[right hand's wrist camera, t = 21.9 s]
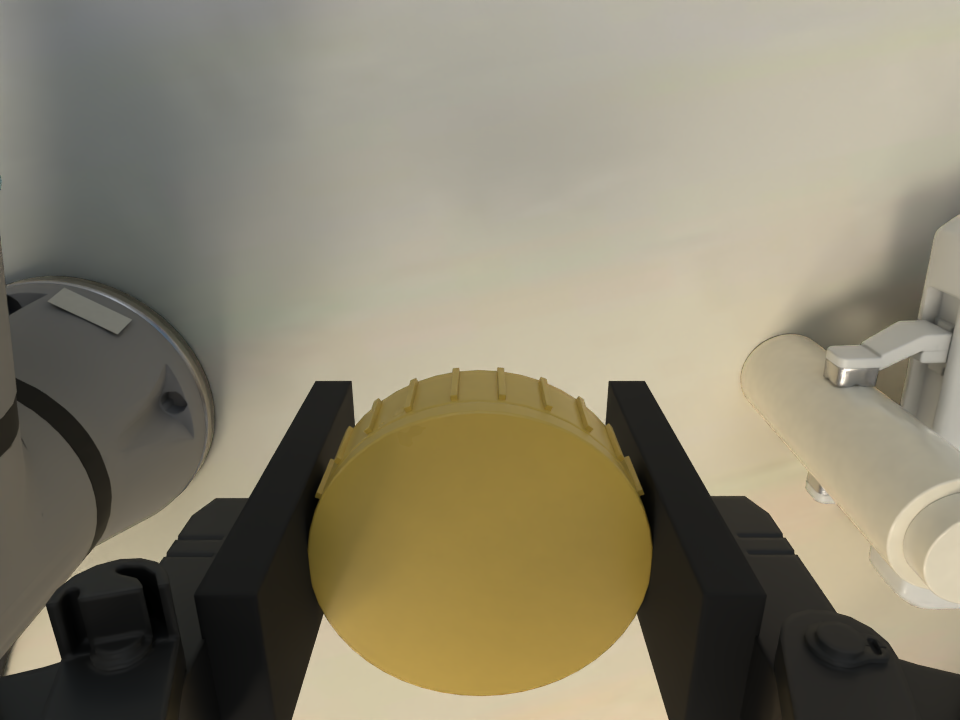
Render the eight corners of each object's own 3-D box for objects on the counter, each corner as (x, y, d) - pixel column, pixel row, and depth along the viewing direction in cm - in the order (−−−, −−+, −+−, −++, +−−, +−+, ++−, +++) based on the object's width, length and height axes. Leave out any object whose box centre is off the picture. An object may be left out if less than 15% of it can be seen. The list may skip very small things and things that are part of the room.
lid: (309, 366, 11) (283, 409, 10) (647, 363, 11) (673, 405, 10) (339, 632, 13) (320, 701, 12) (625, 629, 13) (643, 698, 12)
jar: (833, 398, 40) (1059, 596, 24) (749, 423, 41) (916, 631, 25) (820, 322, 38) (1054, 481, 23) (732, 349, 39) (900, 522, 23)
